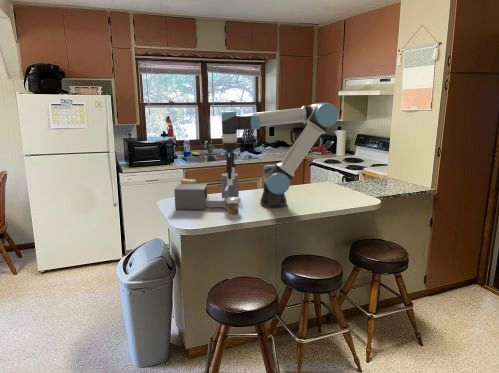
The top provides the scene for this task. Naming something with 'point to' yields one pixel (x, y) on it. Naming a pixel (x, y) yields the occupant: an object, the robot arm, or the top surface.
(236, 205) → the walnut block
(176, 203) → the grey box
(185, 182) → the supplement box
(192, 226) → the top surface
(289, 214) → the top surface
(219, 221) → the top surface
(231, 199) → the disc
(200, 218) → the top surface
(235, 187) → the container
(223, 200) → the tray
